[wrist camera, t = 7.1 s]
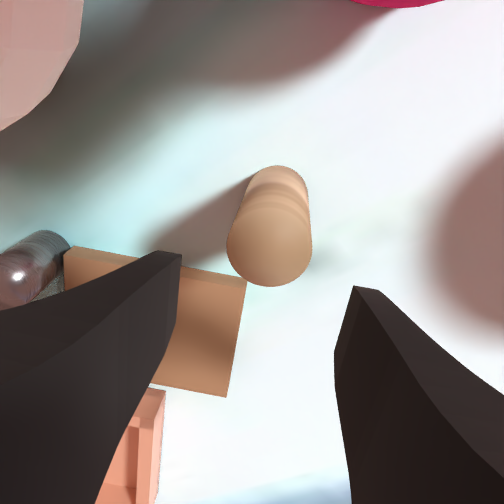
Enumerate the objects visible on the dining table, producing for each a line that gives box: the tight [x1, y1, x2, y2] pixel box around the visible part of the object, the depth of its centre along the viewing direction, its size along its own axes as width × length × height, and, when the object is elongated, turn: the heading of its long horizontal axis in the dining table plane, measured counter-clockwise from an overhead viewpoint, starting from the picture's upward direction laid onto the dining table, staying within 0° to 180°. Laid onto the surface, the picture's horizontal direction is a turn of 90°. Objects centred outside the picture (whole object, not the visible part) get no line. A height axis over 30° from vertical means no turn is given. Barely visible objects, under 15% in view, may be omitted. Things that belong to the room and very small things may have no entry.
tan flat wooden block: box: [63, 246, 247, 398], centre depth 22 cm, size 7×9×2 cm
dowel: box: [226, 166, 312, 287], centre depth 16 cm, size 3×3×6 cm
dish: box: [95, 388, 166, 504], centre depth 26 cm, size 9×7×2 cm
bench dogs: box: [0, 230, 71, 311], centre depth 21 cm, size 8×2×4 cm, turn 171°
